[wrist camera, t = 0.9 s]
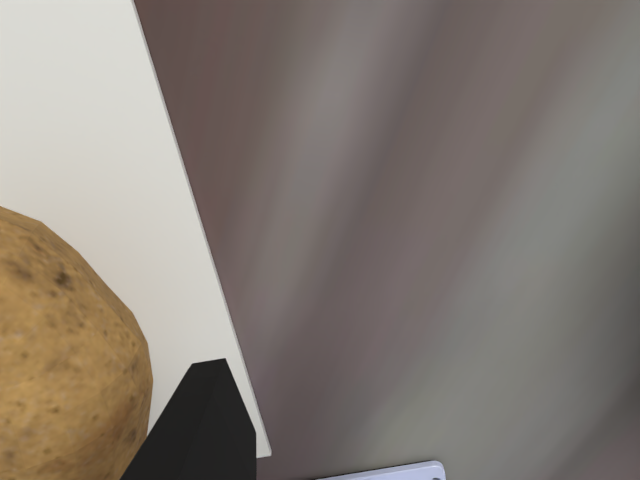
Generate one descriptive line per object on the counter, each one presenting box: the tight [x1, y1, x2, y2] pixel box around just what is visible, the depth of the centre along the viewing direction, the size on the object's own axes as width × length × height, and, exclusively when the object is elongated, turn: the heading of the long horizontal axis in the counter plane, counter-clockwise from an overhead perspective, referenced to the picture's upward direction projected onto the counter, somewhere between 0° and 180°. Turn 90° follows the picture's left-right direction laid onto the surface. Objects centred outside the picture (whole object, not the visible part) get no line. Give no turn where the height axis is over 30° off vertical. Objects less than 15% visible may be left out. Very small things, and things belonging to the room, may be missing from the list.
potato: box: [0, 206, 153, 480], centre depth 20 cm, size 10×14×8 cm
